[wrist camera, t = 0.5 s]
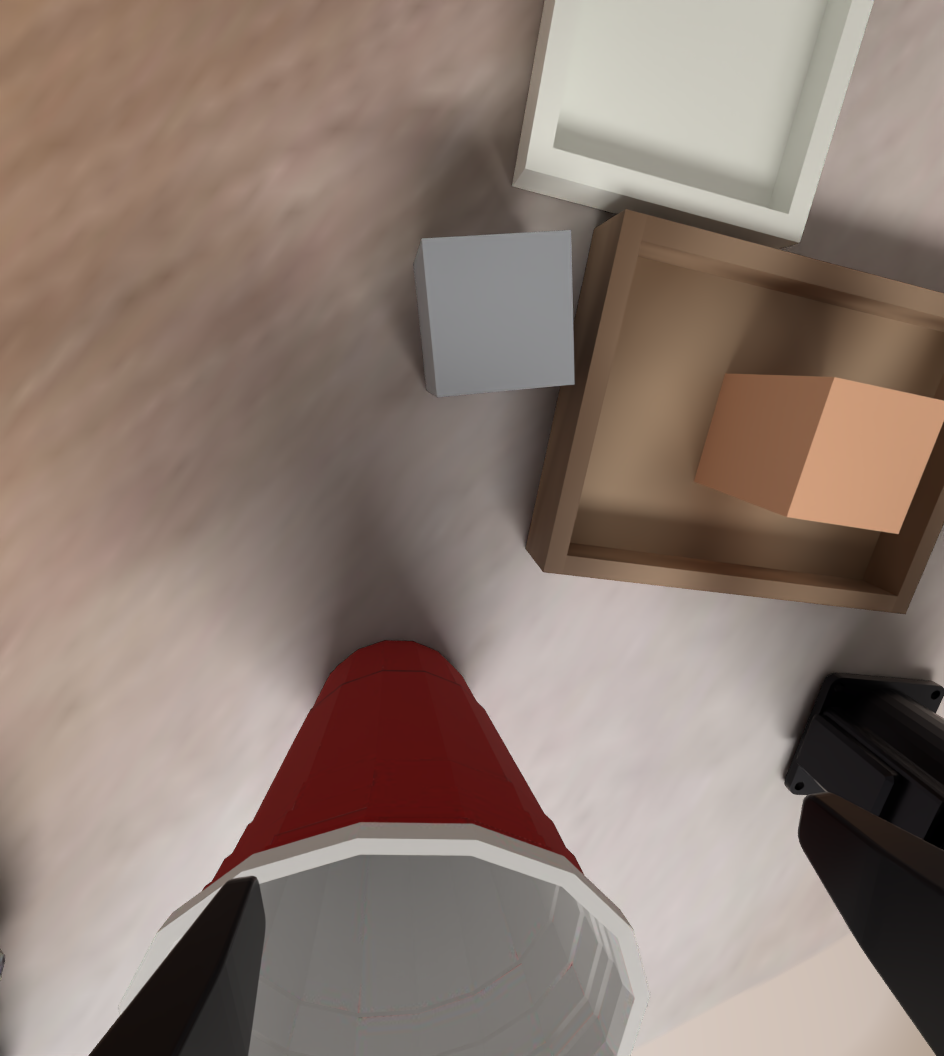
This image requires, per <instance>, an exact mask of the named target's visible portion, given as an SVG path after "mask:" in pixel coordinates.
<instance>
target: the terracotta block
mask: <svg viewBox="0 0 944 1056" xmlns="http://www.w3.org/2000/svg"><path fill="white" fill-rule="evenodd" d="M943 422H944V401H943V400H938V399H934V398H929V397H925V396H920V395H915V394H911V393H906V392H901V391H897V390H892V389H888V388H883V387H878V386H874V385H869V384H864V383H860V382H855V381H851V380H846V379H841V378H837V377H818V376H788V375H757V374H727V373H725V376H724V379H723V383H722V386H721V390H720V393H719V397H718V400H717V403H716V407H715V410H714V414H713V417H712V421H711V424H710V427H709V431H708V434H707V438H706V441H705V445H704V448H703V452H702V455H701V458H700V462H699V465H698V469H697V472H696V476H695V479H694V482H696V483H699V484H701V485H704V486H707V487H709V488H712V489H714V490H717V491H720V492H722V493H725V494H728V495H730V496H733V497H735V498H738V499H741V500H743V501H746V502H748V503H751V504H754V505H756V506H759V507H762V508H764V509H767V510H769V511H772V512H775V513H777V514H780V515H782V516H785V517H789V518H796V519H802V520H809V521H816V522H822V523H829V524H835V525H842V526H849V527H855V528H862V529H868V530H875V531H882V532H888V533H895V534H899V531H900V529H901V526H902V524H903V521H904V519H905V516H906V514H907V511H908V509H909V506H910V504H911V501H912V499H913V496H914V494H915V492H916V489H917V487H918V484H919V482H920V479H921V477H922V474H923V472H924V469H925V467H926V464H927V462H928V459H929V457H930V454H931V452H932V449H933V447H934V444H935V442H936V439H937V437H938V434H939V432H940V429H941V427H942V424H943Z"/></svg>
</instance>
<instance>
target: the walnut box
mask: <svg viewBox="0 0 944 1056" xmlns="http://www.w3.org/2000/svg"><path fill="white" fill-rule="evenodd" d="M573 337H574V381H575V384H574V385H564V386H560V390H559V395H558V399H557V404H556V409H555V413H554V418H553V423H552V427H551V432H550V437H549V441H548V446H547V451H546V455H545V460H544V464H543V469H542V474H541V478H540V483H539V488H538V492H537V497H536V502H535V506H534V511H533V516H532V520H531V525H530V530H529V534H528V539H527V544H526V548H525V549H526V550H527V551H528V553H529V554H530V555H531V557H532V558H533V559H534V561H535V562H536V563H537V564H538V566H539V567H540V568H541V570H542V571H543V572H546V573H555V574H564V575H572V576H581V577H590V578H598V579H607V580H615V581H624V582H633V583H641V584H650V585H659V586H667V587H676V588H684V589H693V590H702V591H710V592H719V593H727V594H736V595H745V596H753V597H762V598H771V599H779V600H788V601H796V602H805V603H814V604H822V605H831V606H839V607H848V608H857V609H865V610H874V611H883V612H891V613H900V614H906V611H907V609H908V607H909V604H910V602H911V600H912V597H913V595H914V593H915V590H916V588H917V585H918V583H919V581H920V578H921V576H922V574H923V571H924V569H925V566H926V564H927V562H928V559H929V557H930V555H931V552H932V550H933V548H934V545H935V543H936V540H937V538H938V536H939V533H940V531H941V529H942V526H943V524H944V422H943V424H942V427H941V429H940V432H939V434H938V437H937V439H936V442H935V444H934V447H933V449H932V452H931V454H930V457H929V459H928V462H927V464H926V467H925V469H924V472H923V474H922V477H921V479H920V482H919V484H918V487H917V489H916V492H915V494H914V496H913V499H912V501H911V504H910V506H909V509H908V511H907V514H906V516H905V519H904V521H903V524H902V526H901V529H900V531H899V534H895V533H888V532H882V531H875V530H868V529H862V528H855V527H849V526H842V525H835V524H829V523H822V522H816V521H809V520H802V519H796V518H789V517H785V516H782V515H780V514H777V513H775V512H772V511H769V510H767V509H764V508H762V507H759V506H756V505H754V504H751V503H748V502H746V501H743V500H741V499H738V498H735V497H733V496H730V495H728V494H725V493H722V492H720V491H717V490H714V489H712V488H709V487H707V486H704V485H701V484H699V483H696V482H694V479H695V476H696V472H697V469H698V465H699V462H700V458H701V455H702V452H703V448H704V445H705V441H706V438H707V434H708V431H709V427H710V424H711V421H712V417H713V414H714V410H715V407H716V403H717V400H718V397H719V393H720V390H721V386H722V383H723V379H724V376H725V373H727V374H757V375H788V376H818V377H837V378H841V379H846V380H851V381H855V382H860V383H864V384H869V385H874V386H878V387H883V388H888V389H892V390H897V391H901V392H906V393H911V394H915V395H920V396H925V397H929V398H934V399H938V400H943V401H944V293H941V292H937V291H933V290H929V289H926V288H922V287H918V286H914V285H911V284H907V283H903V282H899V281H896V280H892V279H888V278H884V277H880V276H877V275H873V274H869V273H865V272H862V271H858V270H854V269H850V268H847V267H843V266H839V265H835V264H831V263H828V262H824V261H820V260H816V259H813V258H809V257H805V256H801V255H798V254H794V253H790V252H786V251H783V250H779V249H775V248H771V247H767V246H764V245H760V244H756V243H752V242H749V241H745V240H741V239H737V238H734V237H730V236H726V235H722V234H718V233H715V232H711V231H707V230H703V229H700V228H696V227H692V226H688V225H685V224H681V223H677V222H673V221H670V220H666V219H662V218H658V217H654V216H651V215H647V214H643V213H639V212H636V211H632V210H628V209H625V210H623V211H622V212H620V213H619V214H617V215H615V216H614V217H612V218H611V219H609V220H607V221H606V222H604V223H603V224H601V225H599V226H598V227H596V228H595V229H594V232H593V237H592V241H591V246H590V251H589V255H588V260H587V264H586V269H585V274H584V278H583V283H582V288H581V292H580V297H579V302H578V306H577V311H576V316H575V320H574V325H573Z"/></svg>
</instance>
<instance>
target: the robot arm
mask: <svg viewBox="0 0 944 1056" xmlns="http://www.w3.org/2000/svg"><path fill="white" fill-rule="evenodd" d="M943 696H944V688H943V687H942V686H940V685H939V684H937V683H935V682H933V681H924V680H912V679H901V678H889V677H878V676H866V675H855V674H843V673H832V674H830V675H828V676H827V677H826V678H825V680H824V682H823V684H822V687H821V689H820V692H819V695H818V697H817V700H816V702H815V705H814V707H813V710H812V712H811V715H810V717H809V720H808V723H807V725H806V728H805V730H804V733H803V735H802V738H801V740H800V743H799V745H798V748H797V750H796V753H795V756H794V758H793V761H792V763H791V766H790V768H789V771H788V773H787V776H786V778H785V782H784V784H785V786H786V787H787V788H788V789H789V790H790V791H791V792H792V793H793V794H796V795H807V796H806V797H805V798H804V800H803V804H802V810H801V816H800V821H799V827H798V838H799V842H800V845H801V847H802V849H803V851H804V853H805V854H806V856H807V858H808V859H809V861H810V863H811V865H812V866H813V868H814V870H815V871H816V873H817V875H818V876H819V878H820V880H821V881H822V883H823V885H824V887H825V888H826V890H827V892H828V893H829V895H830V897H831V898H832V900H833V902H834V904H835V905H836V907H837V909H838V910H839V912H840V914H841V915H842V917H843V919H844V920H845V922H846V924H847V926H848V927H849V929H850V931H851V932H852V934H853V935H854V937H855V938H856V940H857V942H858V943H859V945H860V947H861V948H862V950H863V951H864V953H865V954H866V956H867V957H868V959H869V960H870V962H871V963H872V964H873V966H874V967H875V969H876V970H877V972H878V973H879V974H880V976H881V977H882V979H883V980H884V982H885V983H886V984H887V986H888V987H889V989H890V990H891V992H892V993H893V994H894V996H895V997H896V999H897V1000H898V1002H899V1003H900V1005H901V1006H902V1007H903V1009H904V1010H905V1012H906V1013H907V1015H908V1016H909V1017H910V1019H911V1020H912V1022H913V1023H914V1025H915V1026H916V1027H917V1029H918V1030H919V1032H920V1033H921V1035H922V1036H923V1037H924V1039H925V1040H926V1042H927V1043H928V1045H929V1046H930V1047H931V1049H932V1050H933V1052H934V1053H935V1055H936V1056H944V718H942V717H941V716H939V715H937V714H936V711H937V709H938V707H939V705H940V703H941V701H942V698H943ZM265 929H266V918H265V911H264V906H263V901H262V895H261V890H260V885H259V881H258V879H257V877H255V876H246V877H239V878H233V879H230V880H228V881H227V882H226V883H225V884H224V885H223V886H222V887H221V888H220V890H219V891H218V892H217V893H216V895H215V896H214V897H213V899H212V900H211V901H210V902H209V904H208V905H207V906H206V907H205V909H204V910H203V911H202V912H201V914H200V915H199V916H198V918H197V919H196V920H195V921H194V923H193V924H192V925H191V926H190V928H189V929H188V930H187V931H186V933H185V934H184V935H183V937H182V938H181V939H180V940H179V942H178V943H177V944H176V945H175V947H174V948H173V949H172V950H171V952H170V953H169V954H168V956H167V957H166V958H165V959H164V961H163V962H162V963H161V964H160V966H159V967H158V968H157V969H156V971H155V972H154V973H153V975H152V976H151V977H150V978H149V980H148V981H147V982H146V983H145V985H144V986H143V987H142V988H141V990H140V991H139V992H138V994H137V995H136V996H135V997H134V999H133V1000H132V1001H131V1002H130V1004H129V1005H128V1006H127V1007H126V1009H125V1010H124V1011H123V1013H122V1014H121V1015H120V1016H119V1018H118V1019H117V1020H116V1021H115V1023H114V1024H113V1025H112V1026H111V1028H110V1029H109V1030H108V1032H107V1033H106V1034H105V1035H104V1037H103V1038H102V1039H101V1040H100V1042H99V1043H98V1044H97V1045H96V1047H95V1048H94V1049H93V1051H92V1052H91V1053H90V1054H89V1056H248V1053H249V1047H250V1040H251V1033H252V1026H253V1019H254V1011H255V1004H256V997H257V989H258V982H259V975H260V967H261V960H262V953H263V946H264V938H265Z"/></svg>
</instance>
